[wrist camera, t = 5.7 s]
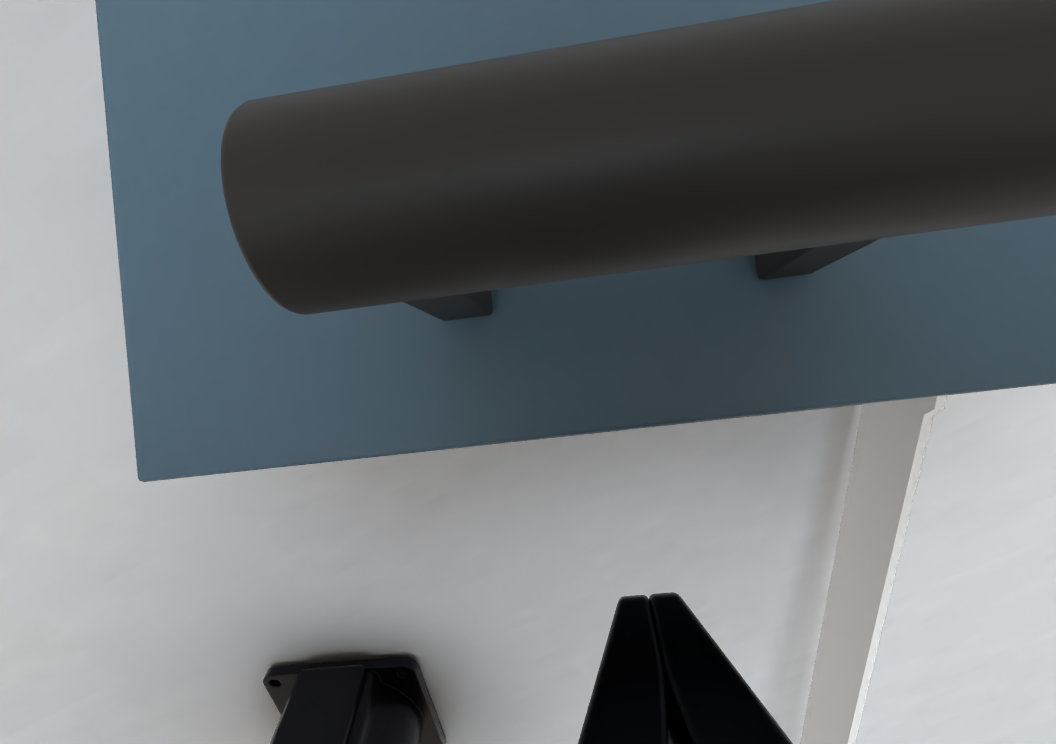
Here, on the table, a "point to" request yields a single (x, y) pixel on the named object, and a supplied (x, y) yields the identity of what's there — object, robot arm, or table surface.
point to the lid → (568, 215)
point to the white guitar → (866, 562)
